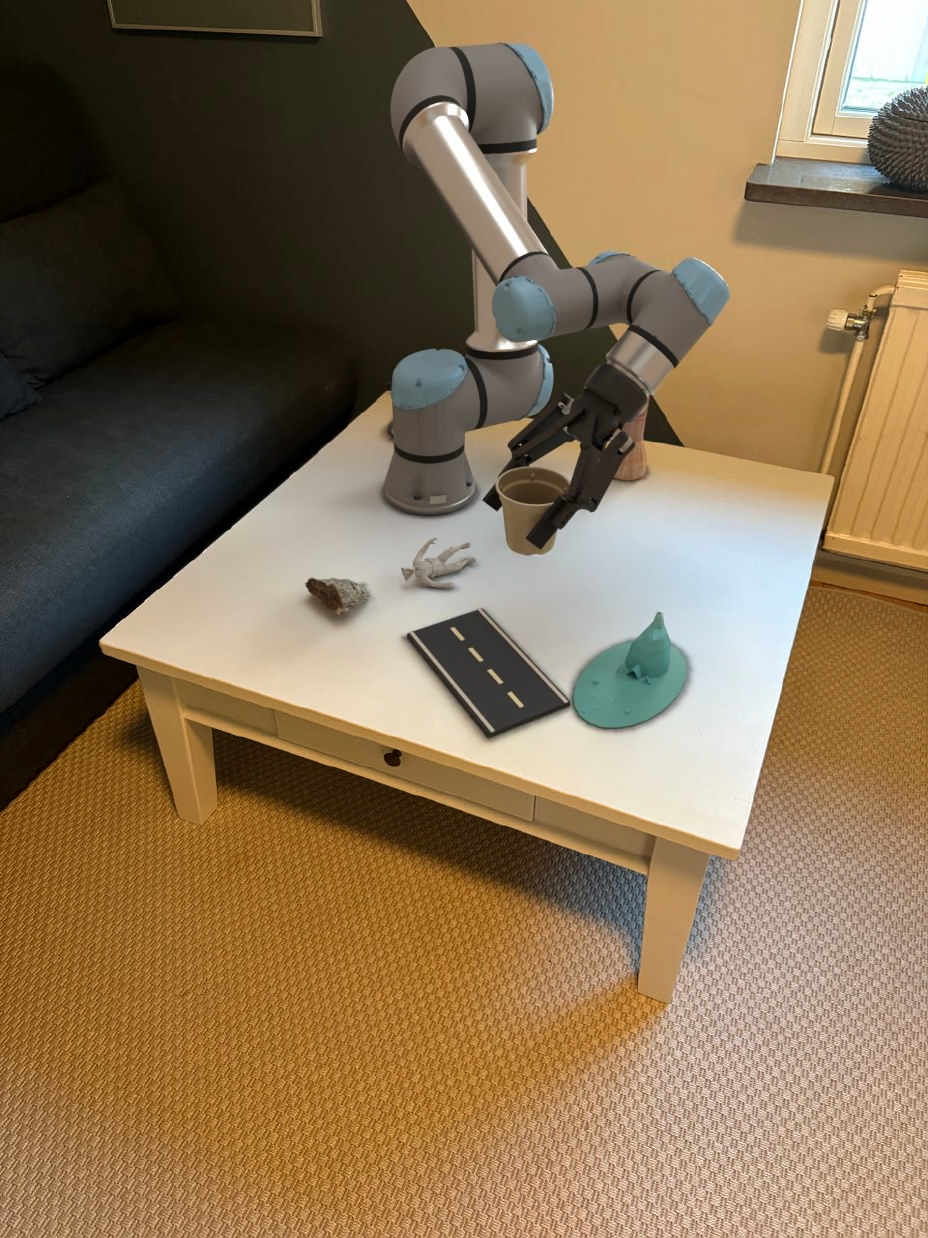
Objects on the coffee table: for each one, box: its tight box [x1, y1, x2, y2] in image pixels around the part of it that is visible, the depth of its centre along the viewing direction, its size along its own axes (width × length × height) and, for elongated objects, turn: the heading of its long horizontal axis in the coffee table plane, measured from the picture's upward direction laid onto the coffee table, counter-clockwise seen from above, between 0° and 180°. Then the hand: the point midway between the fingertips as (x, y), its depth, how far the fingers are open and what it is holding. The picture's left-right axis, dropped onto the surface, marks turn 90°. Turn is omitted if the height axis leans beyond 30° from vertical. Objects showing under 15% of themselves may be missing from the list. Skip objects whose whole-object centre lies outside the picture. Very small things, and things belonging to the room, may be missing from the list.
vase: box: [613, 395, 651, 481], centre depth 160 cm, size 11×7×30 cm
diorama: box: [572, 611, 688, 730], centre depth 121 cm, size 12×20×9 cm, turn 141°
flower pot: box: [495, 465, 571, 557], centre depth 119 cm, size 9×9×9 cm
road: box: [406, 607, 571, 739], centre depth 125 cm, size 22×12×1 cm, turn 30°
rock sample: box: [304, 576, 371, 616], centre depth 135 cm, size 10×8×9 cm
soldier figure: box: [400, 537, 477, 589], centre depth 141 cm, size 8×5×12 cm
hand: (510, 524), depth 118 cm, fingers closed on flower pot, 9 cm apart
